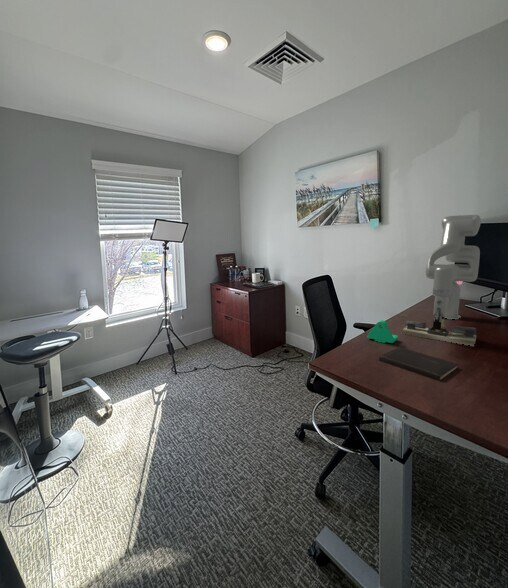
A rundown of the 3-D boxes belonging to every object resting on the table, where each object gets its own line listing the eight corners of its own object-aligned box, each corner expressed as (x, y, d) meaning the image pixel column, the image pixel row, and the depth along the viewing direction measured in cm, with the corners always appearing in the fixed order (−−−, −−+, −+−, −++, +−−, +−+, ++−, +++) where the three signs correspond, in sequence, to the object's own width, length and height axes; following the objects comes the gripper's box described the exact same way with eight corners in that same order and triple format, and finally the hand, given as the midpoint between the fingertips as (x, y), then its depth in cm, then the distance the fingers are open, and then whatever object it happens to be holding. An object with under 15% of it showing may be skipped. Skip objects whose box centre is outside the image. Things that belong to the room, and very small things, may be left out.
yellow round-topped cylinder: (444, 332, 148) (445, 318, 147) (442, 334, 145) (444, 320, 143) (433, 330, 151) (434, 317, 150) (431, 333, 148) (432, 319, 146)
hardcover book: (398, 351, 133) (399, 346, 132) (457, 369, 115) (458, 364, 114) (378, 361, 123) (379, 356, 123) (439, 382, 105) (440, 376, 105)
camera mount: (398, 340, 145) (399, 320, 143) (392, 345, 139) (394, 324, 137) (373, 335, 153) (374, 316, 151) (367, 339, 147) (368, 319, 145)
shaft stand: (407, 328, 162) (408, 317, 161) (475, 339, 143) (477, 327, 142) (401, 333, 153) (402, 322, 152) (473, 346, 135) (475, 333, 133)
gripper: (448, 296, 135) (444, 332, 138) (453, 290, 148) (450, 323, 151) (429, 294, 140) (426, 330, 143) (436, 288, 153) (433, 321, 156)
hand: (438, 326), depth 147 cm, fingers open, 9 cm apart
